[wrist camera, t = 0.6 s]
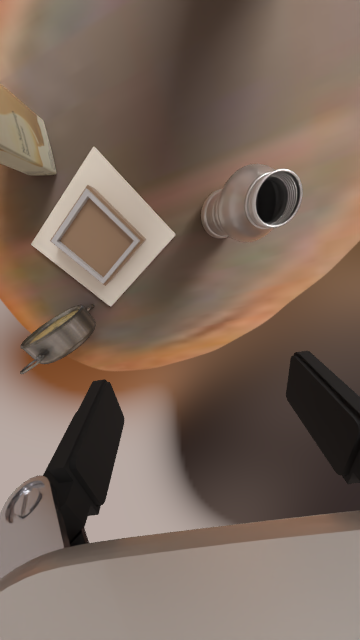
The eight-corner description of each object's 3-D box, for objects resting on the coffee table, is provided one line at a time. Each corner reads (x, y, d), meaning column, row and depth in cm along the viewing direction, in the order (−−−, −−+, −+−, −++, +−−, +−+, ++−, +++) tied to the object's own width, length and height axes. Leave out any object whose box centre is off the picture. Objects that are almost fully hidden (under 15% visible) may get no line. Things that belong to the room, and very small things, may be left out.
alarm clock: (93, 295, 37) (42, 339, 22) (109, 318, 39) (73, 371, 25) (48, 319, 39) (-26, 374, 24) (66, 339, 41) (8, 401, 26)
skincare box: (58, 175, 29) (-12, 142, 18) (29, 176, 29) (-60, 144, 18) (43, 116, 26) (-50, 35, 15) (11, 117, 26) (-108, 37, 15)
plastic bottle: (201, 240, 34) (236, 256, 16) (196, 195, 31) (231, 150, 13) (238, 233, 33) (316, 241, 15) (236, 187, 30) (330, 129, 12)
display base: (96, 148, 28) (82, 134, 23) (175, 234, 33) (176, 235, 29) (34, 244, 33) (13, 246, 28) (112, 305, 38) (104, 314, 34)
